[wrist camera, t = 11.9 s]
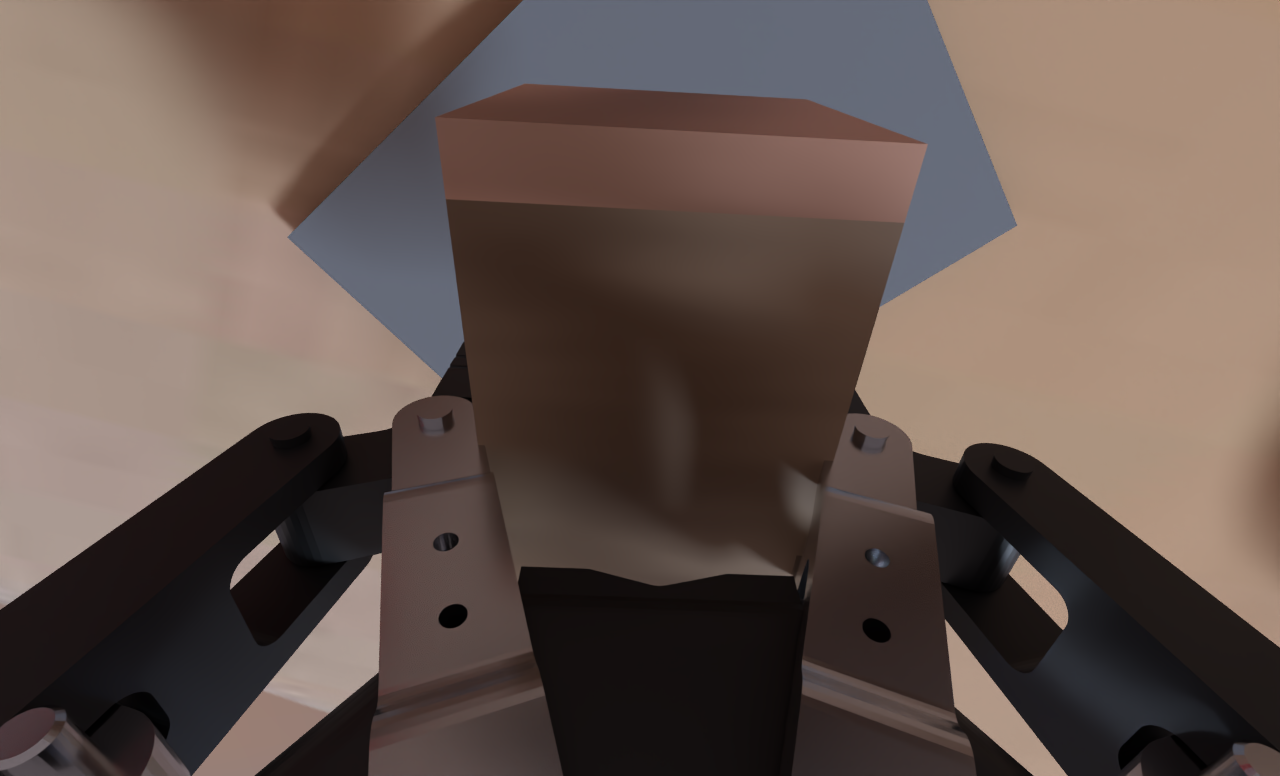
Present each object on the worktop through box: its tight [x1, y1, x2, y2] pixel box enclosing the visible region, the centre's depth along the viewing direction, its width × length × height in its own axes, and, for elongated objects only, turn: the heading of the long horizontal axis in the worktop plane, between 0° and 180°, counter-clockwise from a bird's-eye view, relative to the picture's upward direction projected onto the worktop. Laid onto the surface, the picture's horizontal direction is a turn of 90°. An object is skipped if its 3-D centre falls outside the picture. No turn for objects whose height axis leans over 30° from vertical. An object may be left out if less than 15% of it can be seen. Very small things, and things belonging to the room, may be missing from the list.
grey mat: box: [288, 0, 1017, 378], centre depth 21 cm, size 22×16×1 cm
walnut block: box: [435, 84, 928, 586], centre depth 11 cm, size 5×5×12 cm
